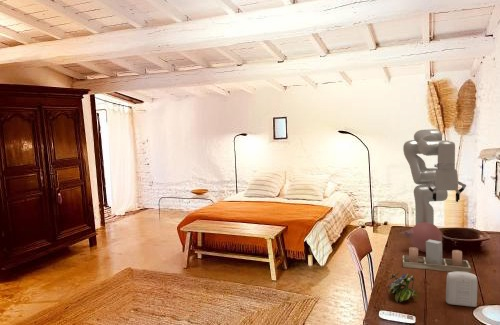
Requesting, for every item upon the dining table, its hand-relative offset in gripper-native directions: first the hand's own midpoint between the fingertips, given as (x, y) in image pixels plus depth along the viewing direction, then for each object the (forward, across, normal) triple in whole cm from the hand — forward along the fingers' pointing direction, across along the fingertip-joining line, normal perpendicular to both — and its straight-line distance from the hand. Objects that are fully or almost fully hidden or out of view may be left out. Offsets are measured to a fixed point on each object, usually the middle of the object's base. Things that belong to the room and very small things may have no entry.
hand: (445, 201), depth 187 cm
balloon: (+28, -11, +6) cm, 31 cm away
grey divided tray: (+28, -6, -15) cm, 33 cm away
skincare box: (+28, -6, -15) cm, 33 cm away
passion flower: (+29, -20, -52) cm, 63 cm away
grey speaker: (+28, 0, -52) cm, 59 cm away
